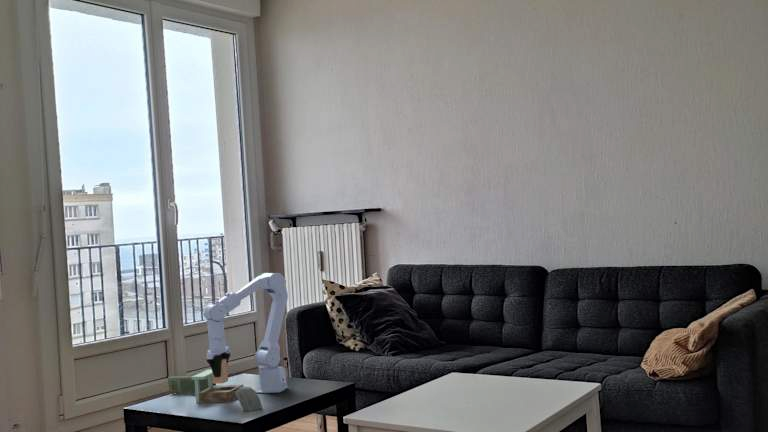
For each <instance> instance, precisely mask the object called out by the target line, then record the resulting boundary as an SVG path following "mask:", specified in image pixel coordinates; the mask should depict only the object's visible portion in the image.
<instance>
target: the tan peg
mask: <svg viewBox="0 0 768 432" xmlns="http://www.w3.org/2000/svg"><path fill="white" fill-rule="evenodd" d="M228 374H229V373H228V364H227V361H226V359H222V363H221V376H220V377H214V374H213V371H212V376H213V384H216V385H218V384H219V385H220V384H225V383H227V382H229V375H228Z"/></svg>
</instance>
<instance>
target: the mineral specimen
mask: <svg viewBox="0 0 768 432" xmlns="http://www.w3.org/2000/svg"><path fill="white" fill-rule="evenodd" d="M235 394H236V396H237V398H236V399H237V401H238V402H239V404H240V406H241V408H242V410H243V411H244V412H245V411H246V412H252V411H256V410H260V409H263V404H262V402H261V399H260V396H259V395H258V393H257V391H256V390H255V389H253V388H252V387H250V386H243V387H242V386H241V387H240V388H238V390H237V391H236V392H235Z"/></svg>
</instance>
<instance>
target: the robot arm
mask: <svg viewBox="0 0 768 432" xmlns="http://www.w3.org/2000/svg"><path fill="white" fill-rule="evenodd" d="M286 284H287V279H286V278H285V277H284V276H283V274H281V273H280V272H263V273H261V274H260V275H257V277H255V278H254V279H252V280H251V281H250V282H249V283H247V284H246V285H244V286H243V287H242V288H241V289H239V290H238V291H236V292H232V291H231V292H226V293H225V294H224V296H223V297H222V298H220V299H219V300H214V304H209V305H207V306H206V308H205V309H204V313H203V317H204V318H205V319H206V324H207V334H208V344H209V345H208V346H209V349H208V350H207V351H206V352H207V353H206V362H207V363H208V365H209V367H210V369H212V371H213V374H214V377H220V376H221V363H222V359H226V361H227V365H228V364H229V360H230V357H231V353H230V352H231V351H230V345H228V346H226V335H225V333H226V332H225V326H224V319H225V317H226V315H228V314H229V313H231V312H232V311H233V310H235V309H236V308H238V307H240V305H241V302H242V300H244V299H245V298H247V297H249V296H250V295H252V294H254V293H256V292H257V291H259V290H264V291H266V292H267V293H268V294H269V295H270V298H272V302H271V305H270V310H269V316H268V319H267V322H266V323H267V325H266V329H265V333H264V338H263V340H262V341H261V342H260V344H259V345H258V347H259V348H258V349H257V350H256V352H255V355H254V359H255V362H256V363H257V365H258V373H259V374H258V375H259V384H260V386H259V387H260V389H259V390H257V391H256V392H257V394H269V393H274V394H275V393H281V392H283V391H285V390H286V389H288V388H289V387H288V383H287V373H286V368H285V367H284V366H279V364H280V362H281V354H280V353H281V346H280V344H279V339H280V335H281V330H282V326H283V321H284V316H285V313H286V312H285V311H286V307H287V303H288V299H289V295H288V291H287V285H286Z"/></svg>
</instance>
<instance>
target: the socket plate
mask: <svg viewBox="0 0 768 432" xmlns="http://www.w3.org/2000/svg"><path fill="white" fill-rule="evenodd" d="M241 386H242V387H244V384H221V385H220V384H219V385H218V384H216V385H214V386H212V387H210V388H208V389H206V390H204V391H202V392H200V393H198V394H199V402H198V403H199V404H202V403H206V404H207V403H230V402H232V401H234V400H235V399H238V398H237V396H236V394H235V392H236V391H237V390H238V388H240V387H241Z"/></svg>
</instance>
